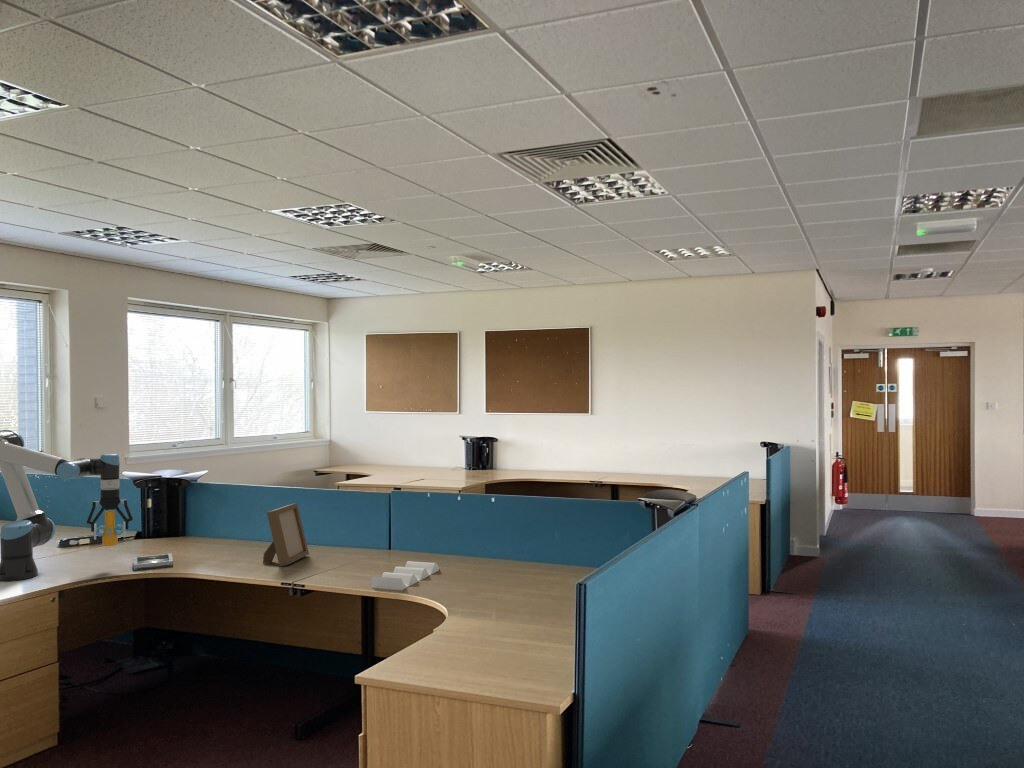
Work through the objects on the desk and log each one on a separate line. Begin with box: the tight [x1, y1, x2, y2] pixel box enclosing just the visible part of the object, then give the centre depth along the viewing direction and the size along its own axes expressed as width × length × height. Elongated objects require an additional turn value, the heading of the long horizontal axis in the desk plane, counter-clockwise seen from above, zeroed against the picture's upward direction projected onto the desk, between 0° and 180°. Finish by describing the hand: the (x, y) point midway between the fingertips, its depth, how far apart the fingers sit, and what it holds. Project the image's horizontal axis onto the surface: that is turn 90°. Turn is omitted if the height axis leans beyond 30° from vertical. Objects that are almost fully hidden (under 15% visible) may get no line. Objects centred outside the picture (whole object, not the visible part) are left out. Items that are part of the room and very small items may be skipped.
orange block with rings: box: [96, 510, 124, 547], centre depth 350 cm, size 12×10×15 cm
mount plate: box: [133, 553, 174, 571], centre depth 357 cm, size 16×18×2 cm
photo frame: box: [262, 502, 310, 567], centre depth 359 cm, size 15×22×25 cm
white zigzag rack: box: [371, 560, 440, 591], centre depth 323 cm, size 13×35×5 cm, turn 160°
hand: (109, 537), depth 350 cm, fingers closed on orange block with rings, 11 cm apart
